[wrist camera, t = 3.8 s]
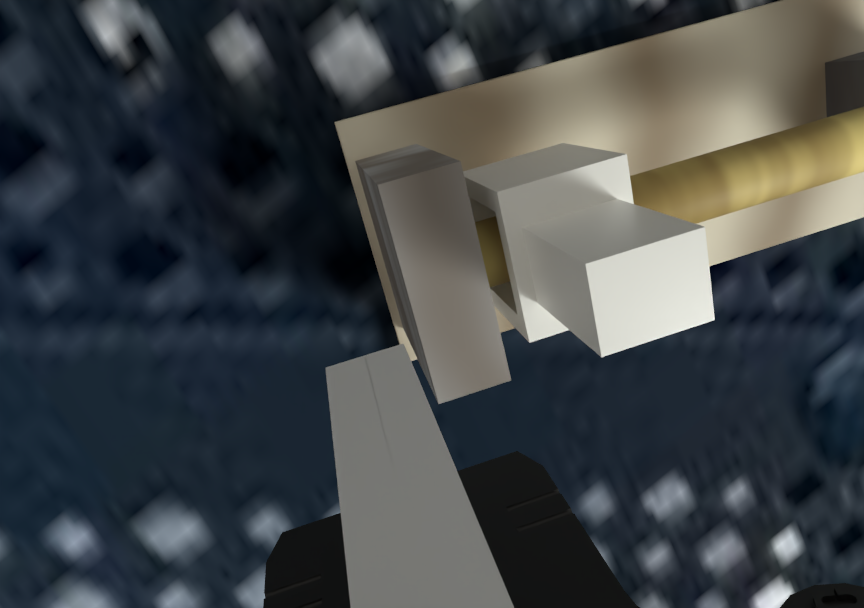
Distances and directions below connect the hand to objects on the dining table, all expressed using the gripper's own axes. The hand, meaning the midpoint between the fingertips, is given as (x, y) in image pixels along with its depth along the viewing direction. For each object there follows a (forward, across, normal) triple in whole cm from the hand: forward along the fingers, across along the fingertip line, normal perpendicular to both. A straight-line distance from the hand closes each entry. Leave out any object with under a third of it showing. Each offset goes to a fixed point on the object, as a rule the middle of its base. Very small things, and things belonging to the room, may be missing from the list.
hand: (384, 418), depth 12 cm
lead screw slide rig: (+15, +13, 0) cm, 19 cm away
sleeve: (+12, +7, 0) cm, 13 cm away
